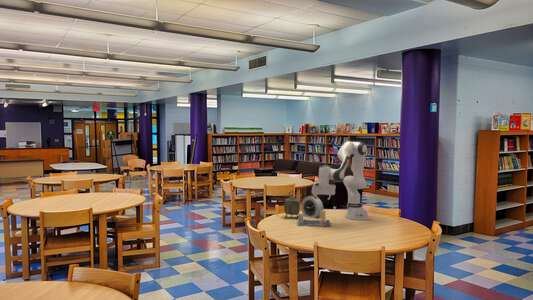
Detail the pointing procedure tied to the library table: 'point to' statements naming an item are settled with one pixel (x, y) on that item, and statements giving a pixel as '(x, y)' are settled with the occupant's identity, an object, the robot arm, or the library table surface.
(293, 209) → the tabletop clock
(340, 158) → the robot arm
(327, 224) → the gauge bed
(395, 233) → the library table surface
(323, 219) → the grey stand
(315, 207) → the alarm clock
